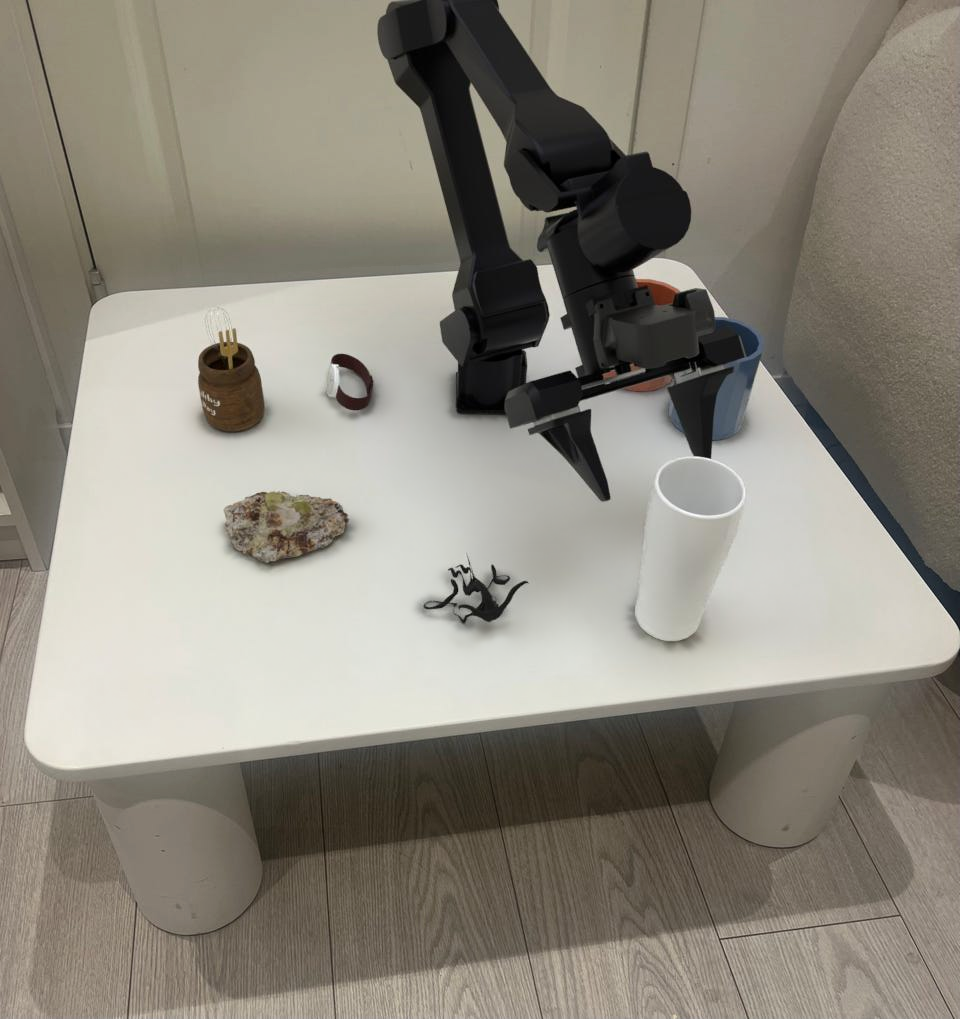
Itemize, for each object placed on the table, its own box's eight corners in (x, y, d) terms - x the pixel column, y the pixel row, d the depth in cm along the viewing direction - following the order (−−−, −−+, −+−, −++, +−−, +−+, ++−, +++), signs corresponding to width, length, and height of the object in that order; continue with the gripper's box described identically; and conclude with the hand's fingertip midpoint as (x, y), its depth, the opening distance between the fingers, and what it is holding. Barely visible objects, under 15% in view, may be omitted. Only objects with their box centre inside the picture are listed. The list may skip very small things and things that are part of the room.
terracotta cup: (602, 390, 105) (613, 321, 99) (595, 345, 111) (604, 278, 105) (679, 392, 105) (694, 323, 99) (667, 347, 111) (681, 279, 105)
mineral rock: (218, 554, 83) (222, 472, 87) (224, 578, 87) (227, 497, 91) (350, 550, 85) (347, 469, 89) (350, 573, 89) (348, 494, 92)
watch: (321, 373, 105) (318, 344, 103) (365, 367, 106) (364, 338, 104) (334, 419, 100) (332, 390, 98) (381, 412, 101) (379, 383, 99)
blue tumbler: (674, 439, 100) (692, 361, 93) (663, 393, 105) (679, 316, 98) (748, 441, 100) (771, 362, 93) (734, 394, 105) (754, 317, 99)
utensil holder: (255, 390, 103) (240, 287, 95) (274, 426, 99) (259, 323, 91) (197, 404, 101) (176, 301, 93) (214, 442, 97) (194, 337, 89)
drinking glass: (705, 658, 80) (747, 525, 70) (621, 643, 81) (649, 509, 71) (709, 595, 85) (748, 462, 75) (629, 581, 86) (657, 448, 76)
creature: (411, 600, 85) (453, 653, 79) (404, 548, 82) (447, 599, 76) (493, 570, 88) (540, 619, 82) (490, 518, 85) (537, 566, 79)
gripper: (532, 287, 67) (600, 512, 67) (759, 231, 73) (819, 438, 74) (476, 326, 77) (535, 521, 78) (678, 274, 84) (731, 455, 84)
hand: (656, 483), depth 78 cm, fingers open, 9 cm apart
